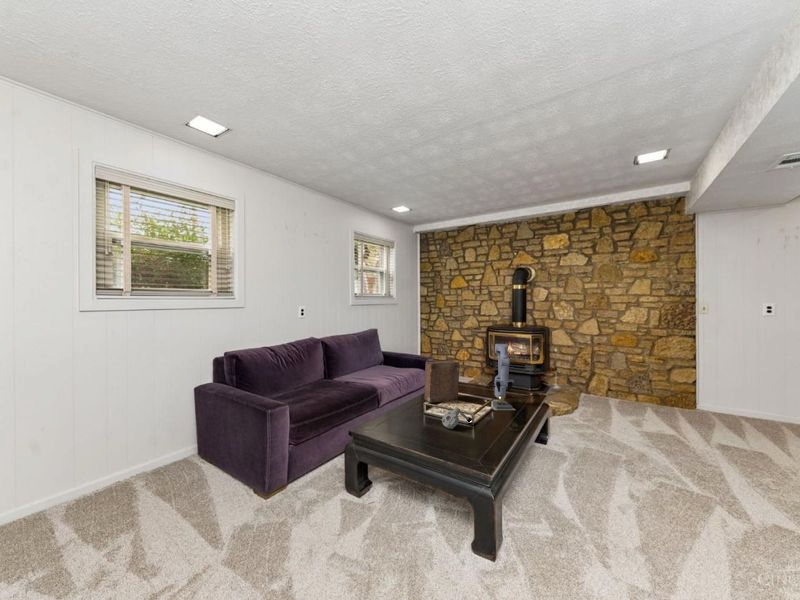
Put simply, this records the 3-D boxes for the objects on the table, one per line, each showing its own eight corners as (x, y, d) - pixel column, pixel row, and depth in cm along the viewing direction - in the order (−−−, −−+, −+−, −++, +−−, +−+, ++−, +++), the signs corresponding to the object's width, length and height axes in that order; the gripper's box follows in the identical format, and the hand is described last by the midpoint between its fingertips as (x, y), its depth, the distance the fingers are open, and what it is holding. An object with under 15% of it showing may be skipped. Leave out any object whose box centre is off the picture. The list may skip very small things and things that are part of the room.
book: (451, 396, 271) (453, 359, 270) (458, 399, 263) (459, 361, 262) (424, 399, 261) (425, 361, 260) (429, 403, 252) (431, 363, 251)
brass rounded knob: (497, 405, 251) (497, 395, 251) (502, 405, 252) (502, 394, 251) (499, 407, 247) (500, 396, 247) (504, 407, 248) (505, 396, 247)
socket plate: (483, 400, 263) (483, 397, 263) (503, 400, 265) (503, 397, 265) (494, 411, 241) (494, 407, 241) (515, 411, 243) (515, 407, 243)
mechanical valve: (438, 420, 212) (452, 401, 216) (454, 434, 220) (468, 416, 223) (447, 428, 203) (462, 408, 206) (464, 442, 211) (478, 423, 214)
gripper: (497, 375, 252) (496, 393, 253) (515, 375, 254) (515, 393, 254) (493, 373, 259) (493, 390, 260) (511, 373, 261) (510, 390, 261)
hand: (503, 391), depth 257 cm, fingers open, 7 cm apart
